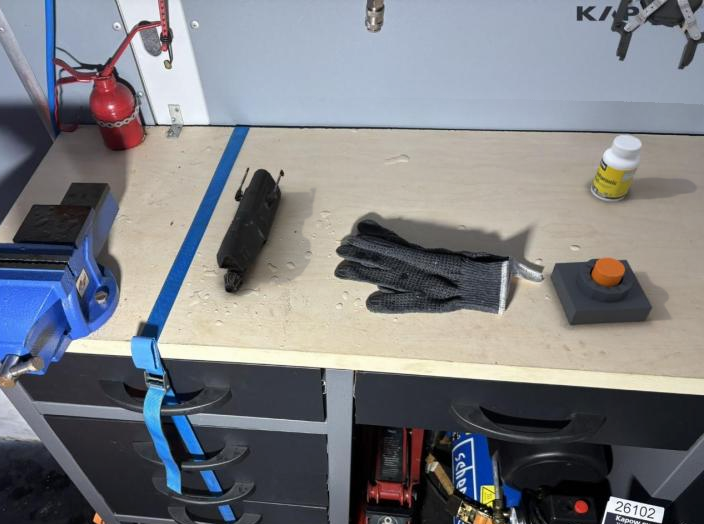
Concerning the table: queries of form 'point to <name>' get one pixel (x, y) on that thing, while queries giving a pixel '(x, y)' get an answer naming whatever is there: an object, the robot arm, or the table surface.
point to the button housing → (598, 295)
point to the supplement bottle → (617, 168)
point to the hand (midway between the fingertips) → (651, 63)
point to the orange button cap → (608, 272)
